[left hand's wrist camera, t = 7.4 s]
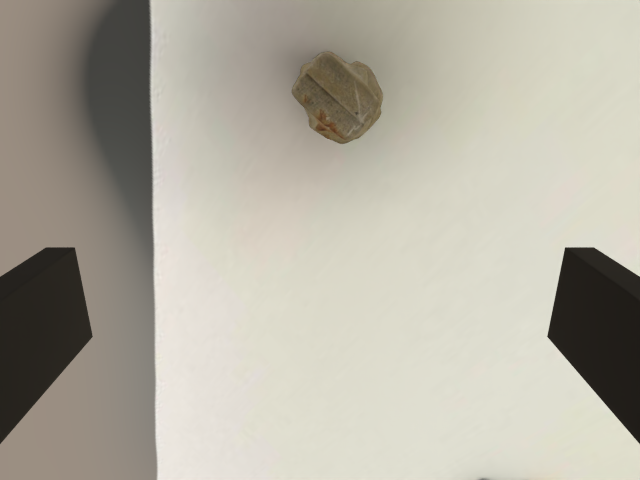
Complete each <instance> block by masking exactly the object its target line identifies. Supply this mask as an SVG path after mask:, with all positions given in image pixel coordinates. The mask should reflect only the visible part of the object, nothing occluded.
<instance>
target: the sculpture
mask: <svg viewBox="0 0 640 480" xmlns="http://www.w3.org/2000/svg"><path fill="white" fill-rule="evenodd" d="M292 94H293V96H294V97H295V98H296V99H297V101H298V102H299V103H300V104H301V105H302V106H303V107H304V108H305V110H306V112H307V114H308V117H309V126H310V127H311V128H312V129H313V130H314V131H316V132H318V133H319V134H321V135H323V136H324V137H325V138H327V139H330V140H333V141H335V142H338V143H340V144H344V143H347V142H350V141H352V140H354V139H357V138H359V137H360V136H362V135H363V134H364V133H365V132H366V131H367V130H368V129H369V128H370V127H371V126H372V125H373V124H374V123H375V122H376V121H377V119H378V118H379V117H380V114H381V110H380V107H381V103H382V99H383V94H382V91H381V88H380V87H379V84H378V82H377V80H376V78H375V75H374V74H373V72H372V70H371V69H370V68H369V67H368V66H366V65H365V64H363V63H361V62H358V61H356V62H354V63H352V64H348V63H346V62H344V61H343V60H342V59H341V58H339V57H338V56H336V55H335V54H334V53H332V52H323V53H321V54H319V55H318V56H317V57H315V58H314V59H313V61H312V62H309V63H306V64H304V65H303V66H302V68H301V72H300V76H299V77H298V79H297V81H296V83H295V84H294V86H293V88H292Z"/></svg>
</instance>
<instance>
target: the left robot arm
mask: <svg viewBox="0 0 640 480" xmlns="http://www.w3.org/2000/svg"><path fill="white" fill-rule="evenodd" d="M547 337H548V338H549V339H550V340H551V341H552V343H553V344H554V345H555V346H556V347H557V348H558V350H559V351H560V352H561V353H562V354H563V355H564V356H565V358H566V359H567V360H568V361H569V362H570V363H571V365H572V366H573V367H574V368H575V369H576V370H577V372H578V373H579V374H580V375H581V376H582V377H583V379H584V380H585V381H586V382H587V383H588V384H589V386H590V387H591V388H592V389H593V390H594V391H595V392H596V394H597V395H598V396H599V397H600V398H601V399H602V401H603V402H604V403H605V404H606V405H607V406H608V408H609V409H610V410H611V411H612V412H613V413H614V415H615V416H616V417H617V418H618V419H619V420H620V421H621V423H622V424H623V425H624V426H625V427H626V428H627V430H628V431H629V432H630V433H631V434H632V435H633V437H634V438H635V439H636V440H637V441H638V442H639V444H640V277H639V276H638V275H636V274H634V273H633V272H631V271H630V270H628V269H627V268H625V267H624V266H622V265H620V264H619V263H617V262H616V261H614V260H613V259H611V258H609V257H608V256H606V255H605V254H603V253H602V252H600V251H598V250H597V249H595V248H565V251H564V256H563V261H562V266H561V271H560V276H559V281H558V286H557V291H556V296H555V301H554V306H553V311H552V316H551V321H550V326H549V331H548V336H547ZM91 338H92V331H91V326H90V321H89V316H88V311H87V306H86V301H85V296H84V292H83V286H82V281H81V276H80V271H79V266H78V261H77V256H76V251H75V248H45V249H43V250H42V251H40V252H39V253H37V254H35V255H34V256H32V257H31V258H29V259H28V260H26V261H24V262H23V263H21V264H20V265H18V266H17V267H15V268H13V269H12V270H10V271H9V272H7V273H6V274H4V275H2V276H1V277H0V444H1V442H2V441H3V440H4V439H5V438H6V437H7V435H8V434H9V433H10V432H11V431H12V430H13V428H14V427H15V426H16V425H17V424H18V423H19V421H20V420H21V419H22V418H23V417H24V416H25V414H26V413H27V412H28V411H29V410H30V409H31V408H32V406H33V405H34V404H35V403H36V402H37V401H38V399H39V398H40V397H41V396H42V395H43V394H44V392H45V391H46V390H47V389H48V388H49V387H50V385H51V384H52V383H53V382H54V381H55V380H56V379H57V377H58V376H59V375H60V374H61V373H62V372H63V370H64V369H65V368H66V367H67V366H68V365H69V363H70V362H71V361H72V360H73V359H74V358H75V356H76V355H77V354H78V353H79V352H80V351H81V350H82V348H83V347H84V346H85V345H86V344H87V343H88V341H89V340H90V339H91Z"/></svg>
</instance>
